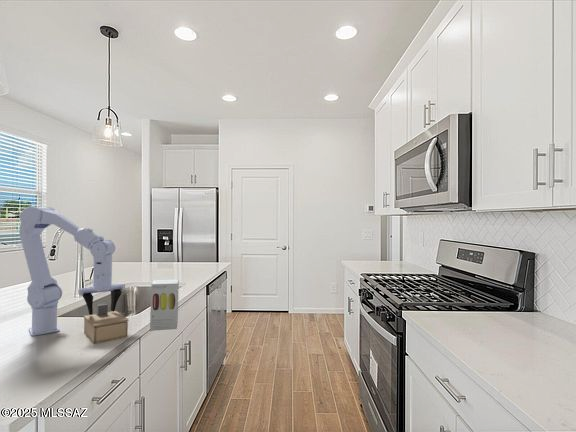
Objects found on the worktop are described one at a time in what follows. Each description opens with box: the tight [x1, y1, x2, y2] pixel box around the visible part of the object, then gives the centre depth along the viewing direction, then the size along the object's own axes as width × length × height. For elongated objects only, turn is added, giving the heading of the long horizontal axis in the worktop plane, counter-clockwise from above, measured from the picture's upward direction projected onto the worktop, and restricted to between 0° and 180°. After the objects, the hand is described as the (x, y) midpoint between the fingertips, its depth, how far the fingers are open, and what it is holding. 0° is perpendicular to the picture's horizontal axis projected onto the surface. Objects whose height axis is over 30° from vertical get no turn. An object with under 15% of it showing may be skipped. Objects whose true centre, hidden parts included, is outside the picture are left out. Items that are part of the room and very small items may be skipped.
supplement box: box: [149, 278, 180, 332], centre depth 125 cm, size 10×9×17 cm
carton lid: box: [83, 303, 129, 327], centre depth 115 cm, size 14×10×4 cm
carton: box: [83, 318, 129, 345], centre depth 115 cm, size 14×10×5 cm
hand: (101, 312), depth 119 cm, fingers open, 6 cm apart
